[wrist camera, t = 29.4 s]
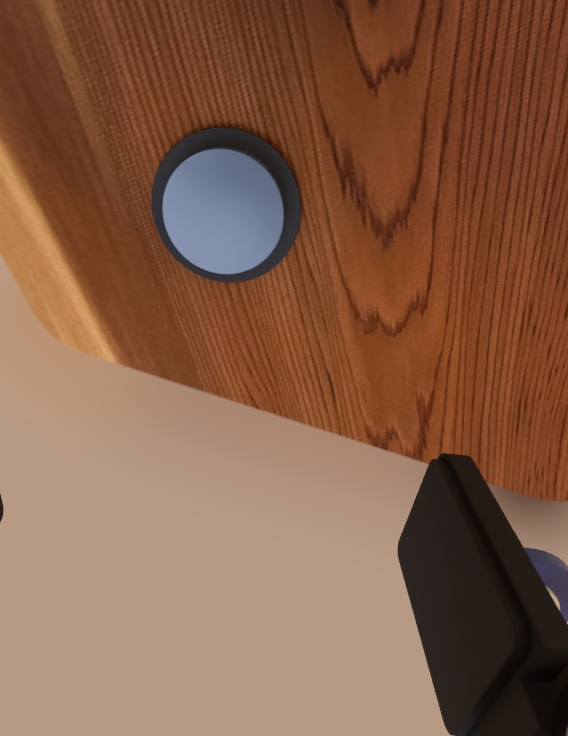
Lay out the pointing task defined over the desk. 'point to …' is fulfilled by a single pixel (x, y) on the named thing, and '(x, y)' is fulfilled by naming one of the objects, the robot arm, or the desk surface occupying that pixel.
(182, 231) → the jar lid
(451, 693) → the robot arm
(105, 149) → the desk surface
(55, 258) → the desk surface
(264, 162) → the coaster
